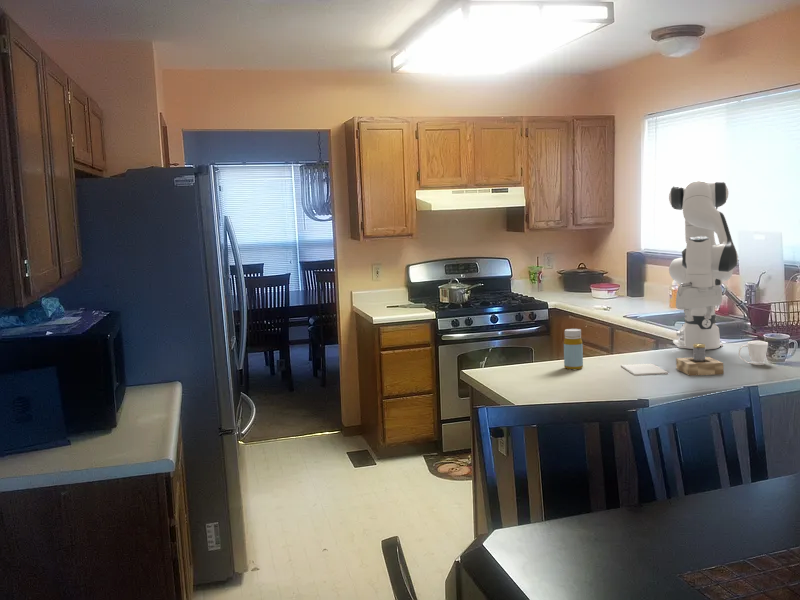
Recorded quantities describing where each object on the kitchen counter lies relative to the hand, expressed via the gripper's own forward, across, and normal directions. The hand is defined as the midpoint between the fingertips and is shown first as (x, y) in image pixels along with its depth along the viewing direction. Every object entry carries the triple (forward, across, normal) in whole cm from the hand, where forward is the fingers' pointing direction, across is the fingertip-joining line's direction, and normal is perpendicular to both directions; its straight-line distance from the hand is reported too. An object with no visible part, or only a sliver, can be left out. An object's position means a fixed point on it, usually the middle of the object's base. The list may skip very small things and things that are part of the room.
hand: (698, 319), depth 243 cm
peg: (+19, 0, 0) cm, 19 cm away
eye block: (+19, 0, 0) cm, 19 cm away
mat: (+19, -13, +14) cm, 27 cm away
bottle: (+19, -30, +33) cm, 49 cm away
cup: (+19, +26, -3) cm, 32 cm away
